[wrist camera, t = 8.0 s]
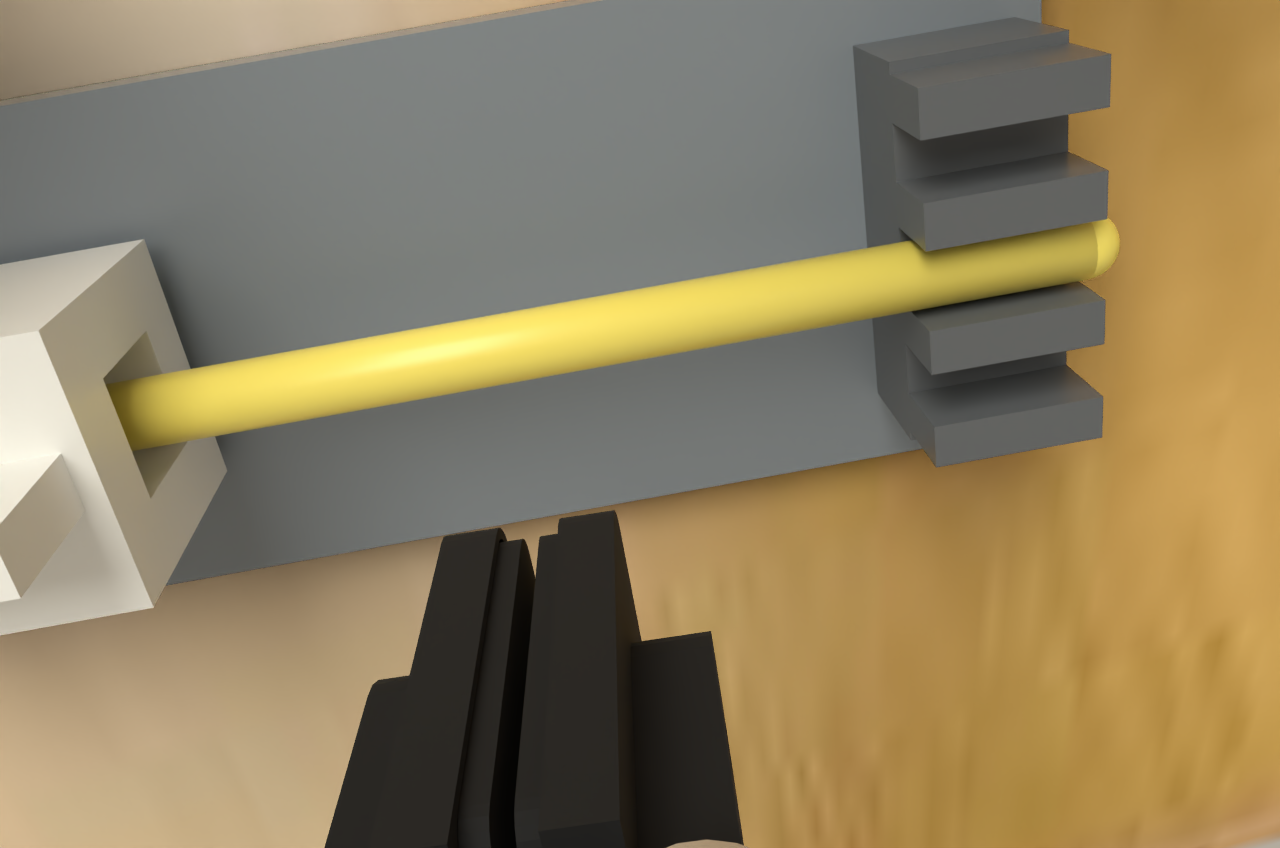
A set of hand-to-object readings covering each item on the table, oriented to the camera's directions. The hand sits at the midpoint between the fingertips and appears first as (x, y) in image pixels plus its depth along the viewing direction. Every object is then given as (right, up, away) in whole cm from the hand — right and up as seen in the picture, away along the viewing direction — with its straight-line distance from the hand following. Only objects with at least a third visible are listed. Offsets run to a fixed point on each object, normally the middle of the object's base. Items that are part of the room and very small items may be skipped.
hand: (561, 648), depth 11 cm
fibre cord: (-2, +4, +9) cm, 10 cm away
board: (-4, +5, +12) cm, 14 cm away
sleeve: (-10, +3, +10) cm, 15 cm away
